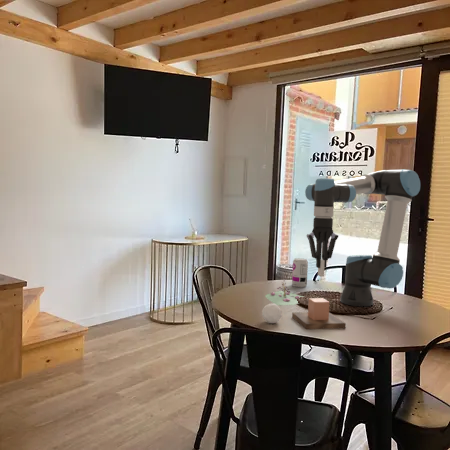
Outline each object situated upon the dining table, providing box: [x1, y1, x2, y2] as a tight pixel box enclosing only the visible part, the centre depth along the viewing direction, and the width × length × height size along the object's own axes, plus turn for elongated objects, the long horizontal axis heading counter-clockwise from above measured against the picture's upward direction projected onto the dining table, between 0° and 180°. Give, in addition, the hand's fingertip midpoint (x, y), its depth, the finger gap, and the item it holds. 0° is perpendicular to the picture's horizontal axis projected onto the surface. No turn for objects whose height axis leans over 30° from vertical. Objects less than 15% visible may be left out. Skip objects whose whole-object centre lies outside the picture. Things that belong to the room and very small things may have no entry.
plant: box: [264, 280, 304, 306], centre depth 215 cm, size 25×21×9 cm
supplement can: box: [291, 257, 309, 288], centre depth 247 cm, size 8×8×15 cm
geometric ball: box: [261, 303, 283, 324], centre depth 175 cm, size 8×8×8 cm
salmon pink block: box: [307, 297, 330, 320], centre depth 178 cm, size 6×6×7 cm
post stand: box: [291, 311, 347, 330], centre depth 178 cm, size 16×16×8 cm
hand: (320, 275), depth 179 cm, fingers closed
